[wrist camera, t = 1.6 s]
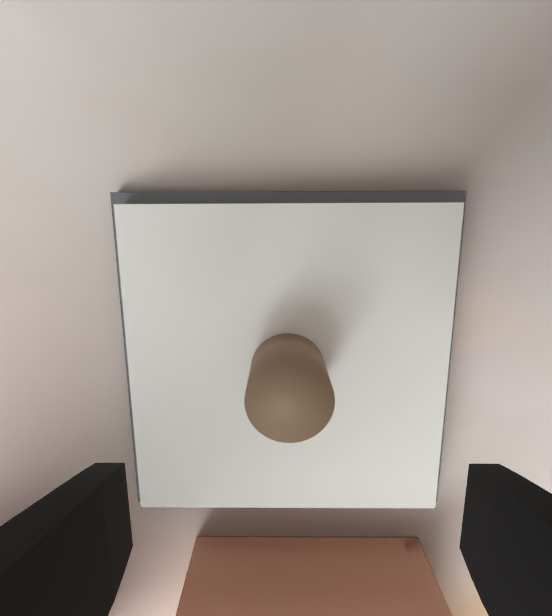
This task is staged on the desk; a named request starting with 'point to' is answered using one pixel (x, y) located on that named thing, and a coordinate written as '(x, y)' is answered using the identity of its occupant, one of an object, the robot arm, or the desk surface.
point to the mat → (278, 198)
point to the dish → (310, 578)
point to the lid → (288, 351)
